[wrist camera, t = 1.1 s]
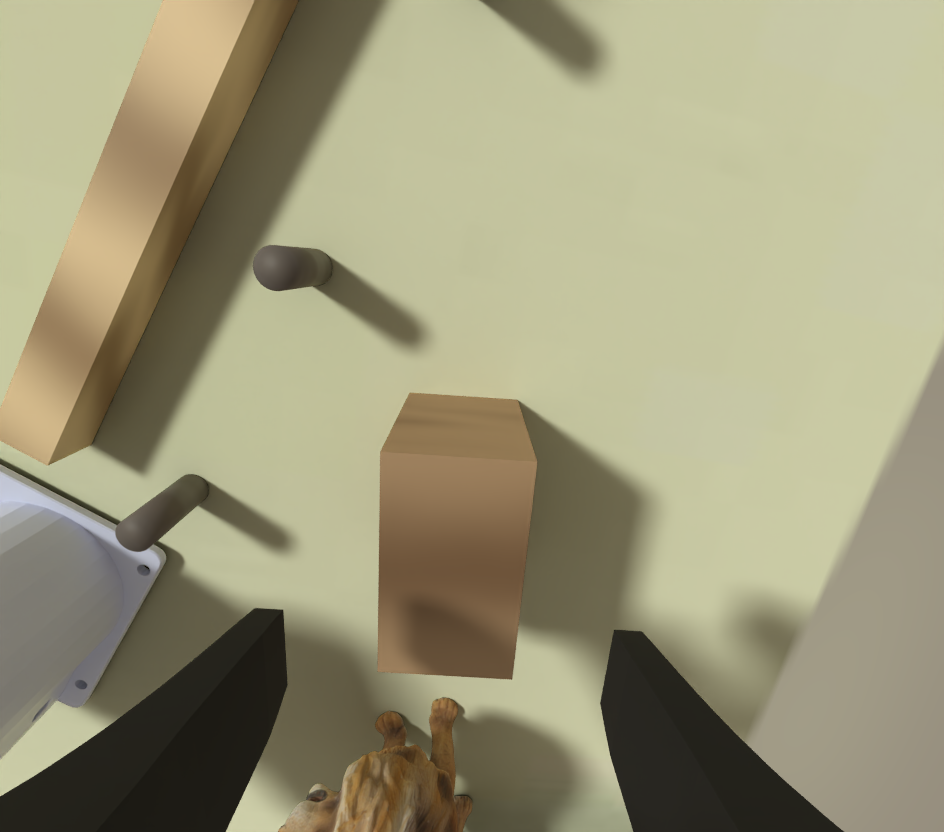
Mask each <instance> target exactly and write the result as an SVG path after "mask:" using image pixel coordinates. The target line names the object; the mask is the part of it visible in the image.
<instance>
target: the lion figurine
mask: <svg viewBox="0 0 944 832" xmlns="http://www.w3.org/2000/svg"><path fill="white" fill-rule="evenodd" d="M457 713H458V706H457V704H456V703H455V702H454V701H453V700H451V699H449V698H440V699H436V700H434V701H433V704H432V709H431V715H430V718H429V723H430V729H431V733H432V753H431V758H430V761H429V760H428V758H427V756H426V754H425V752H423V751H422V750H421V748H420V747H419V746H418V745H415V744H414V745H412V746H409V747H406V746H404V745H405V741H406V737H407V731H406V728H405V726H404V723H403V720H402V718H401V716H400V715H399V714H398V713H397V712H391V711H387V712H385V713H384V714H382V715H381V716H379V718H378V720H377V722H376V724H375V727H376V729H377V730H378V731H379V732H380V733H382V734H383V735H384V739H385V741H384V747H383V750H381V751H380V752H377V751H373V752H370V753H369V754H367V755H363V756H362V757H361V758H360V759H358V760H357V761H355V762H353V763H352V764H350V765H349V766H348V768H347V770H346V772H345V775H344V778H343V783H342V787H341V791H339V792H334V791H331V790H330V789H328V788H327V787H326V786H325V785H323V784H315V785H314V786H313V787H312V788H311V790H310V792H309V794H308V796H307V799H306V800H305V801H301V802H300V803H299V804H297V806H296V807H295V808H294V809H293V811H292V812H291V814H290V815H289V817H288V819H287V821H286V823H285V824H284V825H283V826H281V828H280V829H279V831H278V832H463V828H464V824H465V821H466V819H467V817H468V815H469V814H470V813H471V811H472V800H471V799H470V798H469V797H468V796H454V787H455V777H456V773H455V762H454V747H453V740H452V726H453V722H454V719H455V718H456V716H457Z"/></svg>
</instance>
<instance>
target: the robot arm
mask: <svg viewBox="0 0 944 832" xmlns="http://www.w3.org/2000/svg"><path fill="white" fill-rule="evenodd" d="M116 527H117V525H115V524H113V523H111V522H110V521H108V520H106V519H104V518H102V517H100V516H98V515H96V514H94V513H92V512H90V511H89V510H87V509H85V508H83V507H81V506H79V505H77V504H75V503H73V502H71V501H69V500H68V499H66V498H64V497H62V496H60V495H58V494H56V493H54V492H52V491H50V490H48V489H46V488H45V487H43V486H41V485H39V484H37V483H35V482H33V481H31V480H29V479H27V478H25V477H24V476H22V475H20V474H18V473H16V472H14V471H12V470H10V469H8V468H6V467H4V466H3V465H1V464H0V760H1V758H2V757H3V756H4V755H5V754H6V753H7V752H8V751H9V750H10V749H11V748H12V747H13V746H14V745H15V744H16V743H17V742H18V741H19V740H20V739H21V738H22V736H23V735H24V734H25V733H26V732H27V731H28V730H29V729H30V728H31V727H32V726H33V725H34V724H35V723H36V722H37V721H38V720H39V719H40V718H41V717H42V715H43V714H44V713H45V712H46V711H47V710H48V709H49V708H50V707H51V706H52V705H53V704H54V703H55V702H56V701H60V702H62V703H64V704H66V705H68V706H71V707H80V706H83V705H84V703H85V702H86V701H87V700H88V699H89V698H90V696H91V694H92V693H93V691H94V689H95V687H96V685H97V684H98V682H99V680H100V678H101V677H102V675H103V673H104V671H105V669H106V668H107V666H108V664H109V662H110V660H111V659H112V657H113V655H114V653H115V652H116V650H117V648H118V646H119V644H120V643H121V641H122V639H123V637H124V635H125V634H126V632H127V630H128V628H129V626H130V625H131V623H132V621H133V619H134V618H135V616H136V614H137V612H138V610H139V609H140V607H141V605H142V603H143V601H144V600H145V598H146V596H147V594H148V593H149V591H150V589H151V587H152V585H153V584H154V582H155V580H156V578H157V576H158V575H159V573H160V571H161V569H162V567H163V566H164V564H165V562H166V554H165V553H164V551H163V550H162V549H160V548H159V547H157V546H155V545H152V546H151V547H150V548H148V549H147V550H145V551H142V552H134V551H130V550H128V549H126V548H124V547H123V546H122V545H121V544H120V543H119V542H118V540H117V538H116V535H115V530H116ZM144 565H146V566H148V567H149V569H150V570H149V569H147V568H145V567H144ZM286 688H287V669H286V651H285V634H284V616H283V610H277V609H260V608H255V609H253V610H252V611H251V612H250V613H249V614H247V615H246V616H245V617H244V618H243V619H241V620H240V621H239V622H238V623H237V624H235V625H234V626H233V627H232V628H231V629H229V630H228V631H227V632H226V633H225V634H224V635H222V636H221V637H220V638H219V639H218V640H217V641H215V642H214V643H213V644H212V645H211V646H209V647H208V648H207V649H206V650H205V651H204V652H202V653H201V654H200V655H199V656H198V657H196V658H195V659H194V660H193V661H192V662H190V663H189V664H188V665H187V666H185V667H184V668H183V669H182V670H181V671H179V672H178V673H177V674H176V675H174V676H173V677H172V678H171V679H170V680H168V681H167V682H166V683H165V684H163V685H162V686H161V687H160V688H158V689H157V690H156V691H154V692H153V693H152V694H150V695H149V696H148V697H146V698H145V699H144V700H143V701H141V702H140V703H139V704H137V705H136V706H135V707H133V708H132V709H131V710H129V711H128V712H127V713H126V714H124V715H123V716H122V717H120V718H119V719H118V720H116V721H115V722H114V723H112V724H111V725H109V726H108V727H107V728H105V729H104V730H102V731H101V732H100V733H98V734H97V735H95V736H94V737H92V738H91V739H89V740H88V741H87V742H85V743H84V744H82V745H81V746H79V747H78V748H76V749H75V750H73V751H72V752H70V753H69V754H67V755H66V756H64V757H63V758H61V759H60V760H58V761H57V762H55V763H54V764H52V765H51V766H49V767H48V768H46V769H45V770H43V771H41V772H40V773H38V774H37V775H35V776H34V777H32V778H30V779H29V780H27V781H25V782H24V783H22V784H20V785H19V786H17V787H15V788H14V789H12V790H10V791H9V792H7V793H5V794H4V795H2V796H0V832H226V830H227V828H228V825H229V823H230V821H231V819H232V817H233V815H234V813H235V810H236V808H237V806H238V804H239V802H240V800H241V798H242V796H243V793H244V791H245V789H246V787H247V785H248V783H249V781H250V778H251V776H252V774H253V772H254V770H255V768H256V765H257V763H258V761H259V759H260V757H261V755H262V752H263V750H264V748H265V746H266V744H267V741H268V739H269V737H270V735H271V732H272V729H273V726H274V723H275V720H276V718H277V715H278V712H279V709H280V706H281V703H282V700H283V697H284V694H285V691H286ZM600 704H601V709H602V715H603V720H604V726H605V731H606V736H607V741H608V746H609V751H610V756H611V759H612V763H613V766H614V769H615V773H616V776H617V779H618V783H619V786H620V789H621V793H622V796H623V799H624V802H625V806H626V809H627V812H628V815H629V819H630V822H631V825H632V828H633V832H844V831H842V830H841V829H840V828H839V827H837V826H836V825H835V824H834V823H833V822H831V821H830V820H829V819H828V818H827V817H825V816H824V815H823V814H822V813H821V812H820V811H819V810H817V809H816V808H815V807H814V806H813V805H811V803H809V802H808V801H807V800H806V799H805V798H804V797H803V796H801V795H800V794H799V793H798V792H797V791H796V790H795V789H793V788H792V787H791V786H790V785H789V784H788V783H787V782H785V781H784V780H783V779H782V778H781V777H780V776H779V775H778V774H777V773H776V772H775V771H774V770H772V769H771V768H770V767H769V766H768V765H767V764H766V763H765V762H764V761H763V760H762V759H761V758H760V757H759V756H758V755H757V754H756V753H755V752H754V751H753V750H752V749H751V748H750V747H749V746H748V745H747V744H746V743H745V742H744V741H743V740H742V739H740V738H739V737H738V736H737V735H736V734H735V733H734V732H733V730H732V729H731V728H730V727H729V726H728V725H727V724H726V723H725V722H724V721H723V720H722V719H721V718H720V717H719V716H718V715H717V714H716V713H715V712H714V711H713V710H712V709H711V708H710V707H709V706H708V704H707V703H706V702H705V701H704V700H703V699H702V698H701V697H700V696H699V695H698V694H697V693H696V692H695V690H694V689H693V688H692V687H691V686H690V685H689V684H688V683H687V682H686V681H685V679H684V678H683V677H682V676H681V675H680V674H679V673H678V672H677V670H676V669H675V668H674V667H673V666H672V665H671V664H670V663H669V661H668V660H667V659H666V658H665V657H664V656H663V655H662V654H661V652H660V651H659V650H658V649H657V648H656V647H655V646H654V644H653V643H652V642H651V641H650V640H649V639H648V638H647V637H646V636H645V634H644V633H643V632H641V631H625V630H614V633H613V638H612V644H611V649H610V654H609V660H608V665H607V670H606V676H605V681H604V686H603V692H602V697H601V702H600Z"/></svg>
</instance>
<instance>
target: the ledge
mask: <svg viewBox="0 0 944 832" xmlns="http://www.w3.org/2000/svg"><path fill="white" fill-rule="evenodd" d="M298 1H299V0H163V1H162V4H161V6H160V9H159V11H158V14H157V16H156V19H155V21H154V24H153V26H152V29H151V31H150V34H149V36H148V39H147V41H146V44H145V46H144V49H143V51H142V54H141V56H140V59H139V61H138V64H137V67H136V69H135V72H134V74H133V77H132V79H131V82H130V84H129V87H128V89H127V92H126V94H125V97H124V99H123V102H122V104H121V107H120V109H119V112H118V114H117V117H116V119H115V122H114V124H113V127H112V129H111V132H110V134H109V137H108V139H107V142H106V144H105V147H104V149H103V152H102V154H101V157H100V159H99V162H98V164H97V167H96V169H95V172H94V174H93V177H92V179H91V182H90V184H89V187H88V189H87V192H86V194H85V197H84V199H83V202H82V204H81V207H80V210H79V212H78V215H77V217H76V220H75V222H74V225H73V227H72V230H71V232H70V235H69V237H68V240H67V242H66V245H65V247H64V250H63V252H62V255H61V257H60V260H59V262H58V265H57V267H56V270H55V272H54V275H53V277H52V280H51V282H50V285H49V287H48V290H47V292H46V295H45V297H44V300H43V302H42V305H41V307H40V310H39V312H38V315H37V317H36V320H35V322H34V325H33V327H32V330H31V332H30V335H29V337H28V340H27V342H26V345H25V347H24V350H23V352H22V355H21V358H20V360H19V363H18V365H17V368H16V370H15V373H14V375H13V378H12V380H11V383H10V385H9V388H8V390H7V393H6V395H5V398H4V400H3V403H2V405H1V408H0V441H2V442H4V443H6V444H8V445H10V446H12V447H13V448H15V449H17V450H19V451H21V452H23V453H25V454H27V455H28V456H30V457H32V458H34V459H36V460H38V461H40V462H42V463H43V464H45V465H47V466H48V465H50V464H52V463H54V462H56V461H58V460H60V459H62V458H65V457H67V456H69V455H71V454H73V453H75V452H77V451H79V450H81V449H83V448H86V447H88V446H90V445H91V444H92V442H93V440H94V437H95V435H96V433H97V431H98V429H99V427H100V425H101V422H102V420H103V418H104V416H105V414H106V412H107V410H108V408H109V405H110V403H111V401H112V399H113V397H114V395H115V393H116V390H117V388H118V386H119V384H120V382H121V380H122V378H123V375H124V373H125V371H126V369H127V367H128V365H129V363H130V360H131V358H132V356H133V354H134V352H135V350H136V348H137V345H138V343H139V341H140V339H141V337H142V335H143V333H144V331H145V328H146V326H147V324H148V322H149V320H150V318H151V316H152V313H153V311H154V309H155V307H156V305H157V303H158V301H159V298H160V296H161V294H162V292H163V290H164V288H165V286H166V283H167V281H168V279H169V277H170V275H171V273H172V271H173V269H174V266H175V264H176V262H177V260H178V258H179V256H180V254H181V251H182V249H183V247H184V245H185V243H186V241H187V239H188V236H189V234H190V232H191V230H192V228H193V226H194V224H195V221H196V219H197V217H198V215H199V213H200V211H201V209H202V207H203V204H204V202H205V200H206V198H207V196H208V194H209V192H210V189H211V187H212V185H213V183H214V181H215V179H216V177H217V174H218V172H219V170H220V168H221V166H222V164H223V162H224V159H225V157H226V155H227V153H228V151H229V149H230V147H231V144H232V142H233V140H234V138H235V136H236V134H237V132H238V130H239V127H240V125H241V123H242V121H243V119H244V117H245V115H246V112H247V110H248V108H249V106H250V104H251V102H252V100H253V97H254V95H255V93H256V91H257V89H258V87H259V85H260V82H261V80H262V78H263V76H264V74H265V72H266V70H267V68H268V65H269V63H270V61H271V59H272V57H273V55H274V53H275V50H276V48H277V46H278V44H279V42H280V40H281V38H282V35H283V33H284V31H285V29H286V27H287V25H288V23H289V20H290V18H291V16H292V14H293V12H294V10H295V8H296V5H297V3H298ZM253 270H254V274H255V276H256V278H257V280H258V281H259V282H260V283H261V284H262V285H263V286H264V287H266V288H267V289H270V290H273V291H283V290H290V289H297V288H303V287H310V286H317V285H322V284H324V283H326V282H327V281H328V280H329V279H330V277H331V275H332V263H331V260H330V259H329V257H328V256H327V255H326V254H325V253H324V252H323V251H321V250H318V249H311V248H300V247H288V246H277V245H269V246H265V247H263V248H262V249H260V250H259V251H258V252H257V254H256V255H255V257H254V261H253ZM208 492H209V489H208V485H207V483H206V482H205V481H204V480H203V479H202V478H201V477H199V476H197V475H193V474H188V475H185V476H183V477H181V478H180V479H179V480H177V481H176V482H175V483H173V484H172V485H170V486H169V487H168V488H166V489H165V490H164V491H162V492H161V493H160V494H158V495H157V496H155V497H154V498H153V499H151V500H150V501H149V502H147V503H146V504H145V505H143V506H142V507H140V508H139V509H138V510H136V511H135V512H134V513H132V514H131V515H130V516H128V517H127V518H125V519H124V520H123V521H121V522H120V523H119V524H118V525H117V527H116V530H115V535H116V538H117V540H118V542H119V543H120V544H121V545H122V546H123V547H124V548H126V549H128V550H130V551H134V552H142V551H145V550H147V549H148V548H150V547H151V546H152V545H153V544H154V543H155V542H156V541H158V540H159V539H160V538H161V537H162V536H163V535H164V534H166V533H167V532H168V531H169V530H170V529H171V528H172V527H174V526H175V525H176V524H177V523H178V522H179V521H180V520H181V519H183V518H184V517H185V516H186V515H187V514H188V513H189V512H191V511H192V510H193V509H194V508H195V507H196V506H197V505H199V504H200V503H201V502H202V501H203V500H204V499H205V498H206V497H207V496H208Z"/></svg>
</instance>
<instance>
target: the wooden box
mask: <svg viewBox="0 0 944 832" xmlns="http://www.w3.org/2000/svg"><path fill="white" fill-rule="evenodd" d="M536 470H537V459H536V456H535V453H534V450H533V447H532V443H531V440H530V437H529V434H528V431H527V428H526V425H525V421H524V418H523V415H522V412H521V409H520V406H519V403H518V400H512V399H496V398H481V397H466V396H451V395H436V394H421V393H409V395H408V397H407V399H406V401H405V403H404V405H403V407H402V409H401V411H400V413H399V415H398V417H397V419H396V421H395V423H394V425H393V427H392V429H391V431H390V434H389V436H388V438H387V440H386V442H385V444H384V446H383V448H382V450H381V452H380V524H379V601H378V672H391V673H409V674H426V675H444V676H461V677H479V678H496V679H512V676H513V668H514V659H515V651H516V642H517V633H518V625H519V616H520V607H521V599H522V590H523V582H524V573H525V564H526V556H527V547H528V538H529V530H530V521H531V513H532V504H533V495H534V487H535V478H536Z"/></svg>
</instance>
